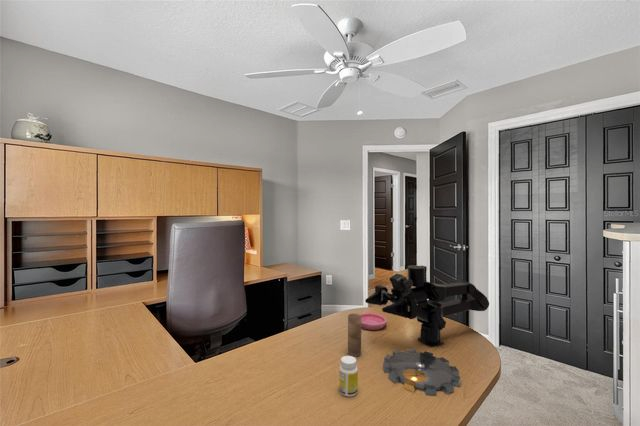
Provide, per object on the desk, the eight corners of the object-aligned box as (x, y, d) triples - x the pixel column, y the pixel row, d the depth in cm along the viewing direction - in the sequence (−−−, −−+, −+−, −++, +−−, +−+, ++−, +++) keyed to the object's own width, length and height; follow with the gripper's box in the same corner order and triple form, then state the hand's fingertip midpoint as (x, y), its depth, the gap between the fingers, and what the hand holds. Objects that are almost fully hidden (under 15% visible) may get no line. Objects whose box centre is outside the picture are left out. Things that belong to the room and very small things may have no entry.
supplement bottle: (359, 388, 76) (359, 356, 76) (355, 399, 72) (355, 365, 72) (341, 384, 78) (342, 353, 78) (337, 394, 73) (337, 362, 73)
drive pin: (356, 349, 97) (356, 312, 97) (363, 355, 93) (364, 317, 93) (345, 352, 95) (345, 314, 95) (352, 358, 91) (352, 319, 91)
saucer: (384, 320, 123) (385, 313, 123) (388, 333, 111) (388, 325, 111) (355, 319, 125) (356, 312, 125) (356, 331, 112) (356, 323, 112)
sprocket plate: (420, 348, 98) (420, 342, 98) (477, 382, 79) (477, 374, 79) (369, 362, 89) (369, 354, 89) (419, 404, 70) (420, 395, 70)
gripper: (392, 268, 108) (357, 274, 101) (430, 280, 91) (391, 288, 84) (393, 297, 108) (358, 305, 101) (431, 314, 91) (392, 325, 84)
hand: (373, 305), depth 93 cm, fingers open, 9 cm apart
